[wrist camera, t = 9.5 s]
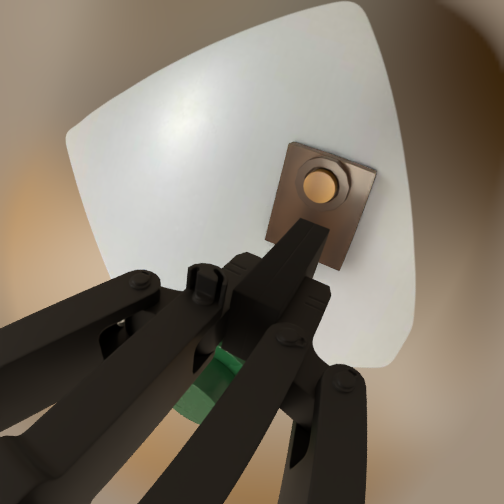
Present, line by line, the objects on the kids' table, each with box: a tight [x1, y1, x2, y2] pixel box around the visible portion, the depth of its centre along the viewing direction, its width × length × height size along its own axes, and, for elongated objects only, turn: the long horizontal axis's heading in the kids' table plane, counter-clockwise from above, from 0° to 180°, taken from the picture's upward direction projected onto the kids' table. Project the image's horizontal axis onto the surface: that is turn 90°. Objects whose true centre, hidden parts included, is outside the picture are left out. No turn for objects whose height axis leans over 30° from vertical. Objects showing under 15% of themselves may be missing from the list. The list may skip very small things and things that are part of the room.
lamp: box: [173, 340, 246, 424], centre depth 32 cm, size 9×9×27 cm
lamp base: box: [265, 142, 377, 271], centre depth 41 cm, size 12×15×4 cm
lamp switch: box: [303, 169, 338, 203], centre depth 37 cm, size 4×4×2 cm
